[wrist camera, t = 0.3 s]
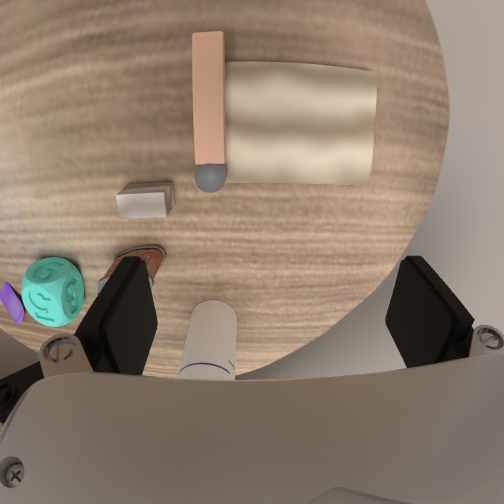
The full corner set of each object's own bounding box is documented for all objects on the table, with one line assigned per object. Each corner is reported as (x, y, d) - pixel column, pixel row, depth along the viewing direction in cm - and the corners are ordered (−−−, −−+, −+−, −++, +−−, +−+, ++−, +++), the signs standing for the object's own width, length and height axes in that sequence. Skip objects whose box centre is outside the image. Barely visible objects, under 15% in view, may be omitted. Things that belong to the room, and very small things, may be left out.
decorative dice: (50, 293, 46) (29, 322, 39) (40, 254, 42) (15, 280, 35) (87, 300, 47) (68, 331, 40) (79, 259, 43) (55, 288, 36)
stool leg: (227, 184, 35) (226, 192, 33) (200, 185, 35) (195, 192, 33) (225, 36, 27) (223, 31, 25) (196, 38, 27) (191, 33, 24)
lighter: (161, 240, 42) (140, 280, 33) (169, 261, 43) (151, 304, 34) (112, 252, 42) (84, 291, 34) (121, 271, 44) (96, 313, 35)
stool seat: (120, 75, 31) (105, 74, 27) (369, 73, 31) (383, 71, 27) (131, 205, 39) (119, 218, 35) (359, 204, 39) (371, 217, 35)
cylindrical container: (211, 292, 46) (188, 448, 24) (246, 318, 48) (246, 469, 26) (182, 317, 48) (150, 462, 26) (216, 341, 50) (203, 482, 28)
